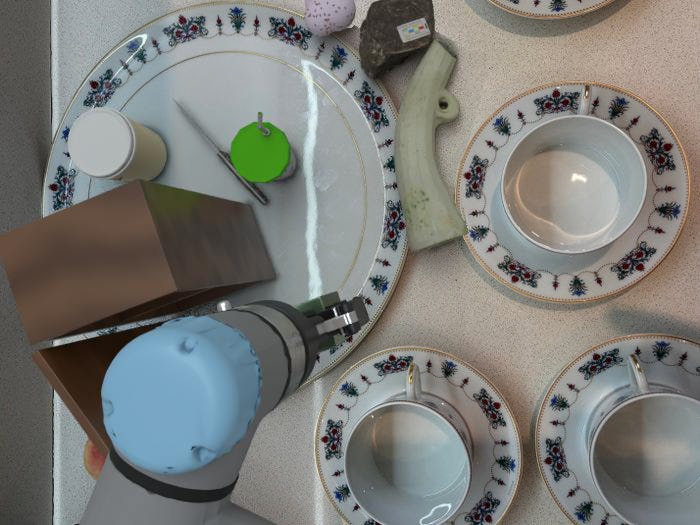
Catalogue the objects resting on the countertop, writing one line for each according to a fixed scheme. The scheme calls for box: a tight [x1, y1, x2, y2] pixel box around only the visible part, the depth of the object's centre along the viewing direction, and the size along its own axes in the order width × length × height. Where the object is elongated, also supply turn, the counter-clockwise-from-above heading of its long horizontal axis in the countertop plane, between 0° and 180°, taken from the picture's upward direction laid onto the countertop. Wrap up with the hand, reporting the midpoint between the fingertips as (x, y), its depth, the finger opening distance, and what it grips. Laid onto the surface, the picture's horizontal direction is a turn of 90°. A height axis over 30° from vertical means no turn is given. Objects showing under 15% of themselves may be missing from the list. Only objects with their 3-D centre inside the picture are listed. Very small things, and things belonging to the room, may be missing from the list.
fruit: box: [83, 438, 105, 482], centre depth 95 cm, size 8×8×8 cm
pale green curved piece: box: [393, 38, 470, 255], centre depth 86 cm, size 28×8×10 cm
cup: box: [229, 111, 298, 184], centre depth 87 cm, size 8×8×15 cm
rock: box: [358, 0, 436, 81], centre depth 88 cm, size 10×7×8 cm
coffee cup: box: [67, 106, 168, 182], centre depth 92 cm, size 9×9×12 cm
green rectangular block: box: [292, 290, 353, 355], centre depth 67 cm, size 5×5×9 cm
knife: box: [172, 98, 268, 205], centre depth 94 cm, size 20×1×3 cm, turn 42°
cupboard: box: [0, 179, 277, 347], centre depth 79 cm, size 11×16×34 cm
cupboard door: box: [30, 316, 181, 460], centre depth 80 cm, size 7×16×34 cm, turn 38°
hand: (322, 321), depth 71 cm, fingers closed on green rectangular block, 5 cm apart
